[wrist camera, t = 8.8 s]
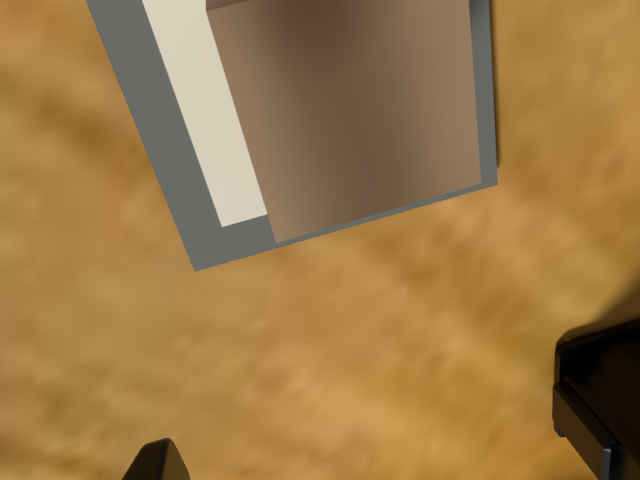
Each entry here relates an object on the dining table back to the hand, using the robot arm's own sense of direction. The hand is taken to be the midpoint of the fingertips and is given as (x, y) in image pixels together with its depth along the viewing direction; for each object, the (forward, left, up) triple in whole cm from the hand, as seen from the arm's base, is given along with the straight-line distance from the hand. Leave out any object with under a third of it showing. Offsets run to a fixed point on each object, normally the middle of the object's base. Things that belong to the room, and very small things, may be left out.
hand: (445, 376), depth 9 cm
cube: (-1, -3, -11) cm, 12 cm away
